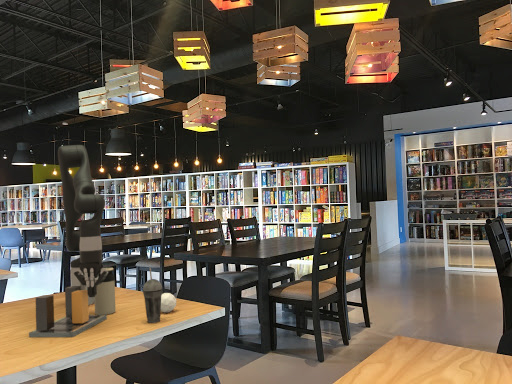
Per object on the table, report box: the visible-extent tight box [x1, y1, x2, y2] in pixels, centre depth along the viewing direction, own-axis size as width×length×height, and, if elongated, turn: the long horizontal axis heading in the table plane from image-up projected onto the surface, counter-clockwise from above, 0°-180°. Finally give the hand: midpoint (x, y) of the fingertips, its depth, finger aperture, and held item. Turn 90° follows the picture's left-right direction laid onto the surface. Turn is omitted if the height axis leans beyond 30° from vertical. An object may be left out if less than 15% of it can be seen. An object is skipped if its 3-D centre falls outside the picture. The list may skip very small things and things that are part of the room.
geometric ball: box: [161, 292, 177, 314], centre depth 171 cm, size 8×8×8 cm
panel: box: [28, 285, 108, 338], centre depth 153 cm, size 23×16×13 cm
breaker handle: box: [72, 290, 90, 323], centre depth 153 cm, size 4×4×11 cm
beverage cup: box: [142, 267, 163, 324], centre depth 157 cm, size 7×7×20 cm
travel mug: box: [94, 267, 116, 315], centre depth 173 cm, size 8×8×18 cm
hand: (92, 296), depth 153 cm, fingers closed
